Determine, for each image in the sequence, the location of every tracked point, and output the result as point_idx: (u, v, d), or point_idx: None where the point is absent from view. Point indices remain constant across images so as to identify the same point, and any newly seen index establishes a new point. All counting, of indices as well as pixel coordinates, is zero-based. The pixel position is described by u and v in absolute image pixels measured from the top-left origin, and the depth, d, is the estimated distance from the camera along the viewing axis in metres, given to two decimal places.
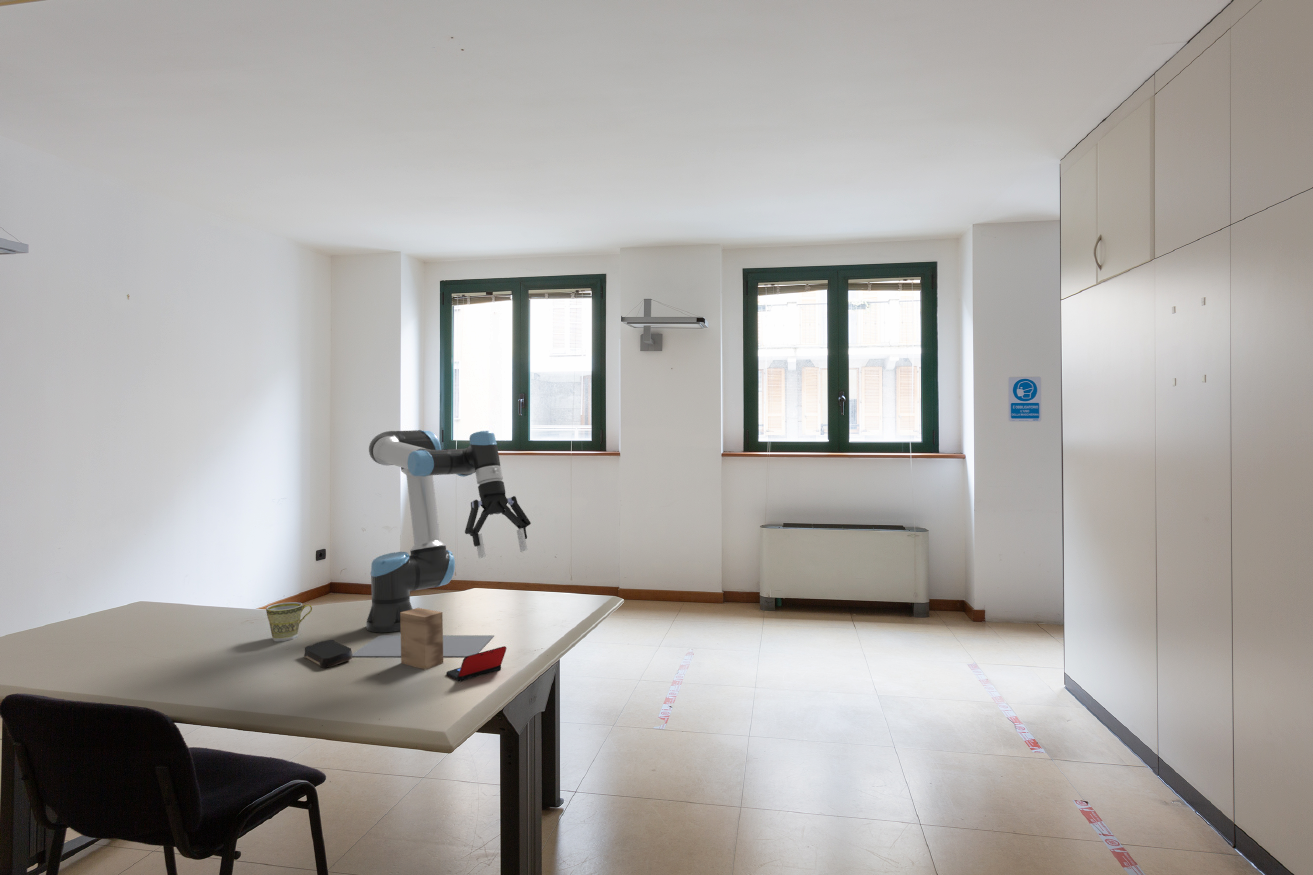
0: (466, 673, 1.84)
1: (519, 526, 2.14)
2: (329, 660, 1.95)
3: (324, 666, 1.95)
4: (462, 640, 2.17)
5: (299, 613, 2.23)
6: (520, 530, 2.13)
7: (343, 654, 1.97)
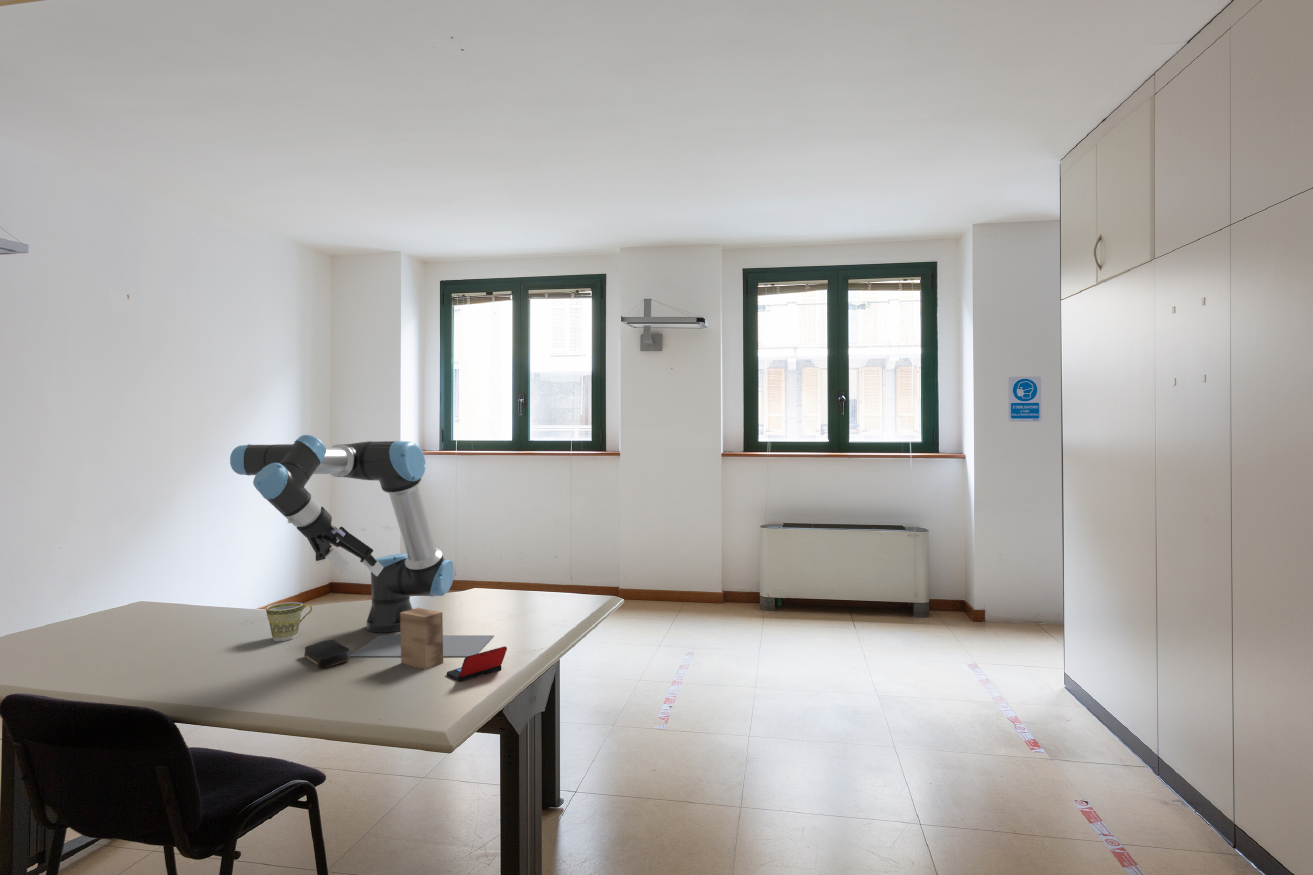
0: (467, 673, 1.84)
1: None
2: (327, 660, 1.94)
3: (321, 666, 1.94)
4: (462, 640, 2.17)
5: (299, 613, 2.23)
6: None
7: (340, 655, 1.97)
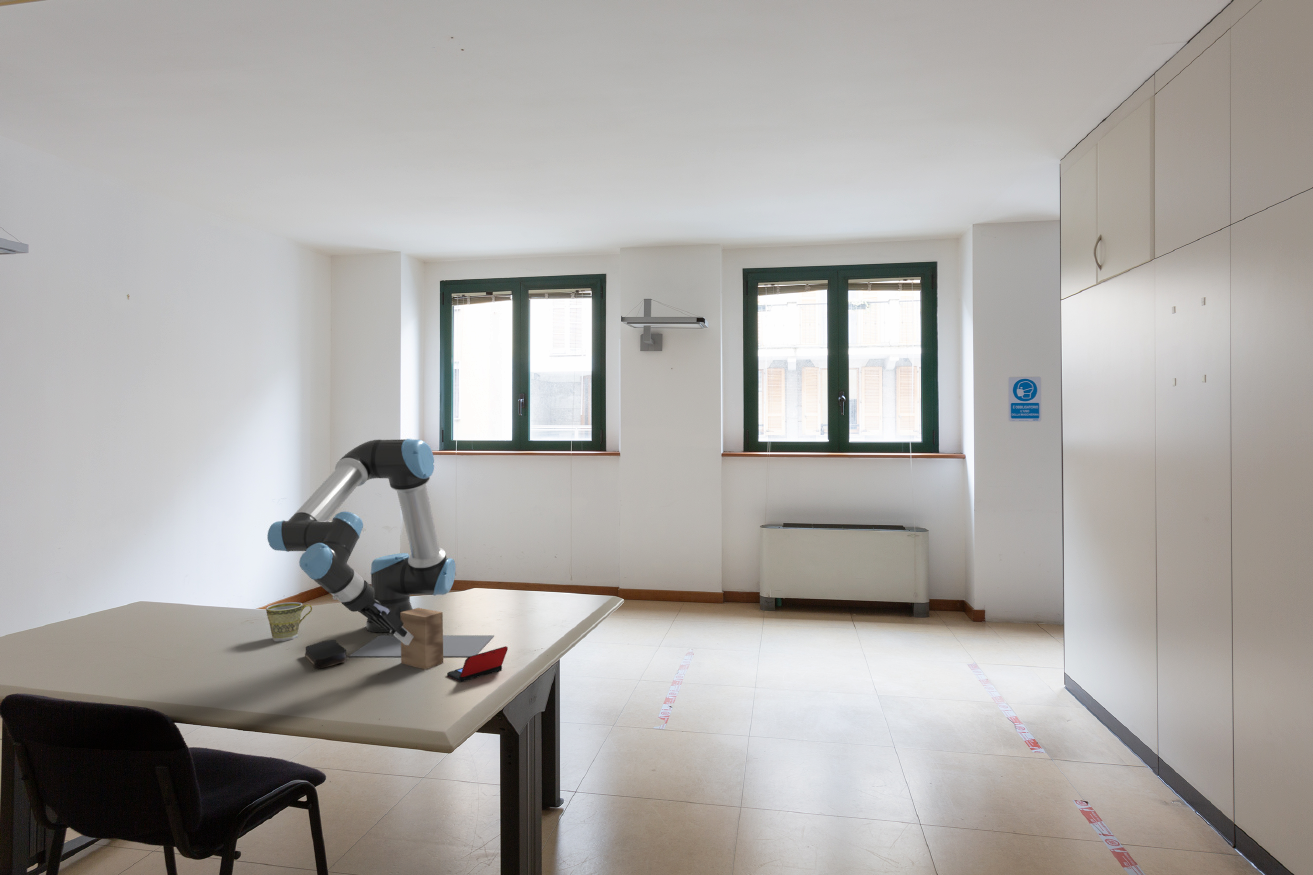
0: (468, 674, 1.83)
1: None
2: (322, 661, 1.94)
3: (317, 667, 1.94)
4: (462, 640, 2.17)
5: (299, 613, 2.23)
6: None
7: (336, 656, 1.96)
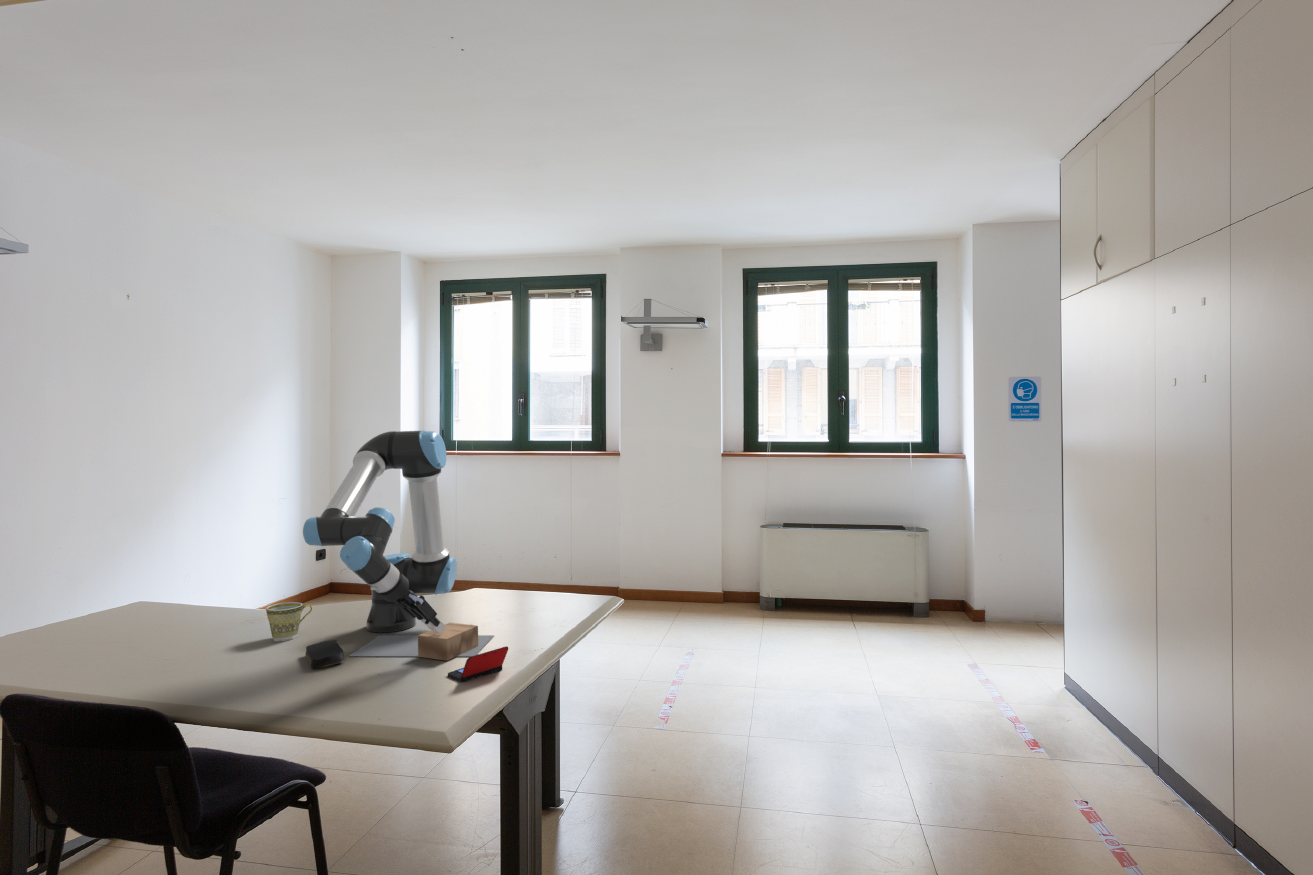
0: (469, 674, 1.83)
1: None
2: (318, 661, 1.93)
3: (313, 667, 1.94)
4: None
5: (299, 613, 2.23)
6: None
7: (332, 656, 1.95)
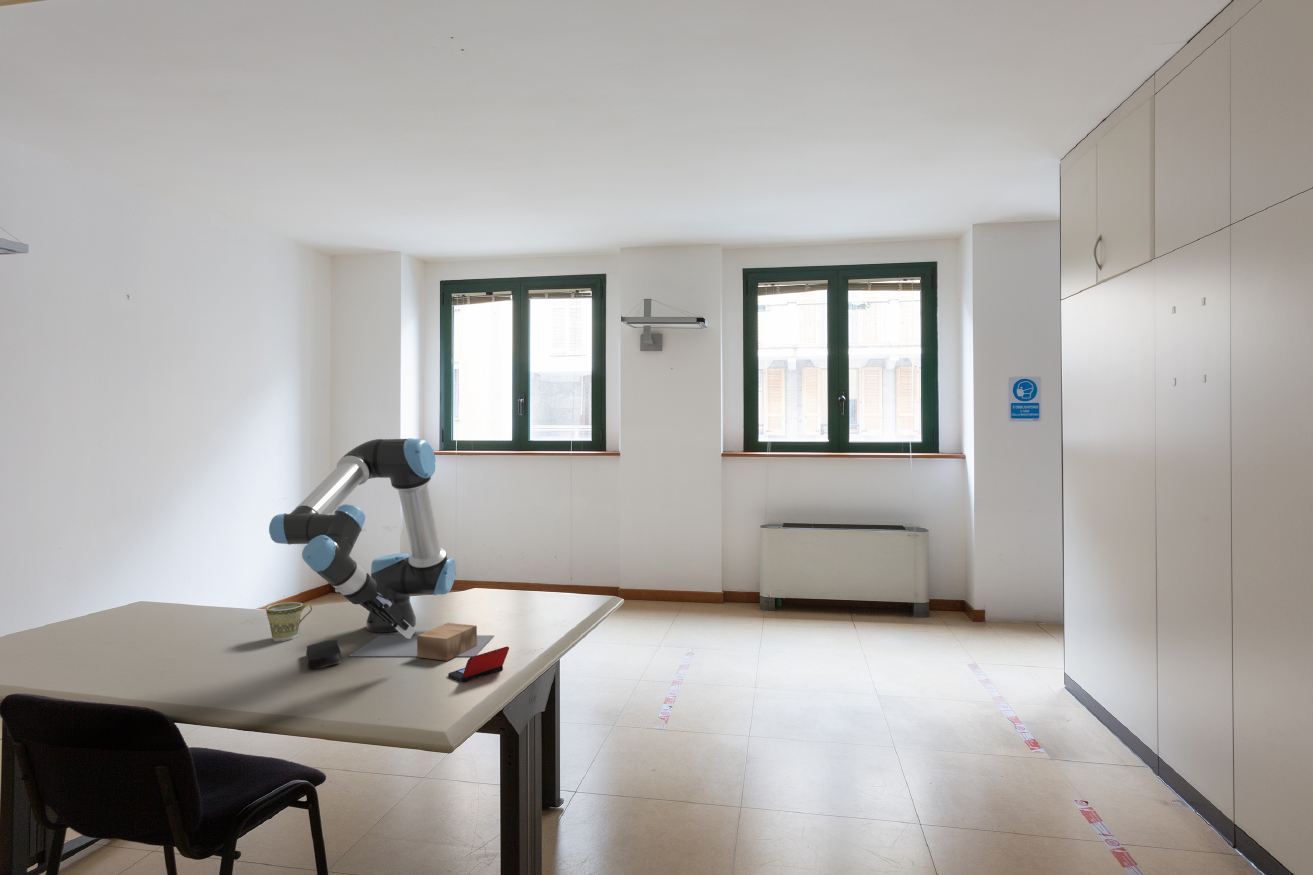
0: (470, 674, 1.83)
1: None
2: (314, 662, 1.93)
3: (310, 667, 1.94)
4: None
5: (299, 613, 2.23)
6: None
7: (329, 657, 1.95)
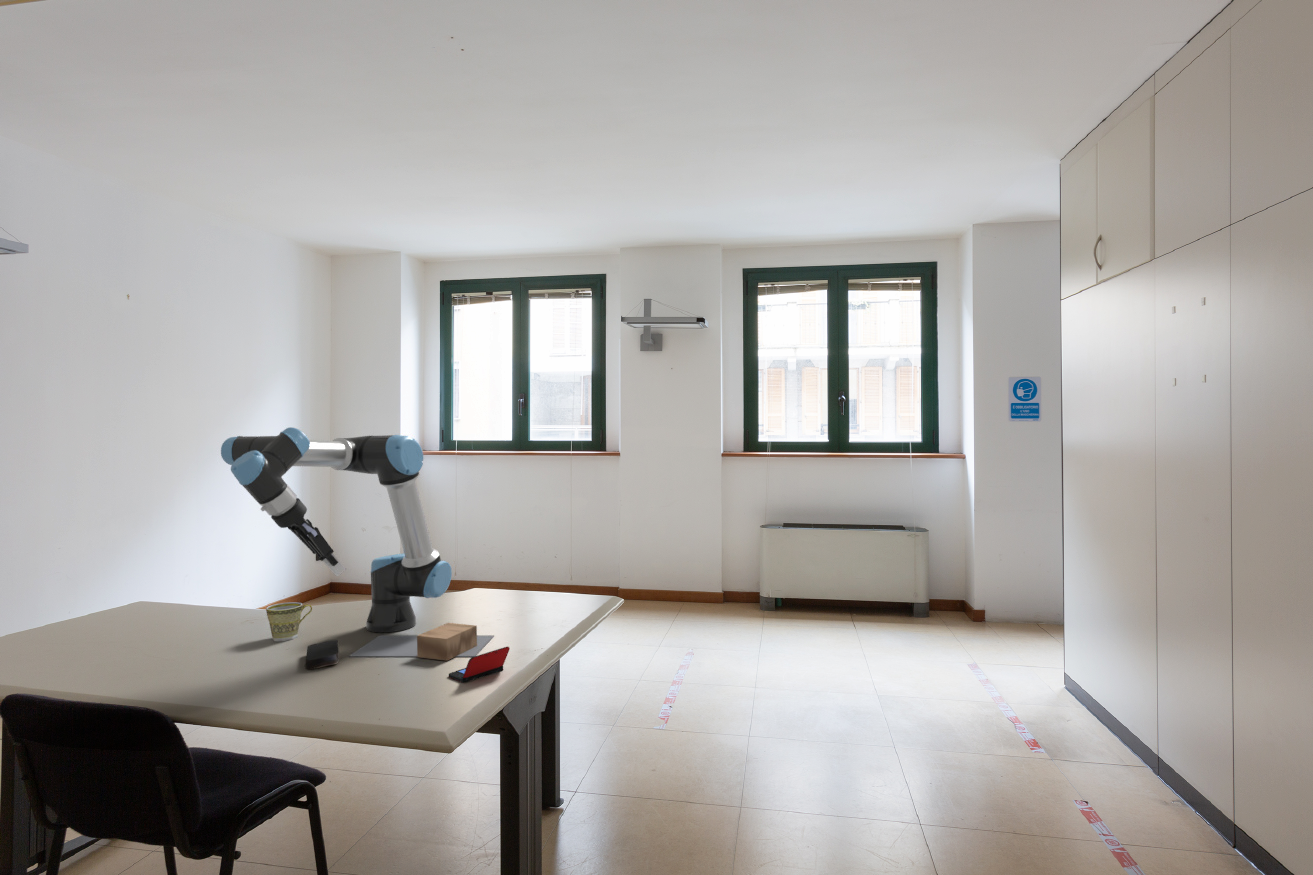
0: (470, 674, 1.83)
1: None
2: (311, 662, 1.93)
3: (307, 668, 1.93)
4: None
5: (299, 613, 2.23)
6: None
7: (326, 657, 1.95)
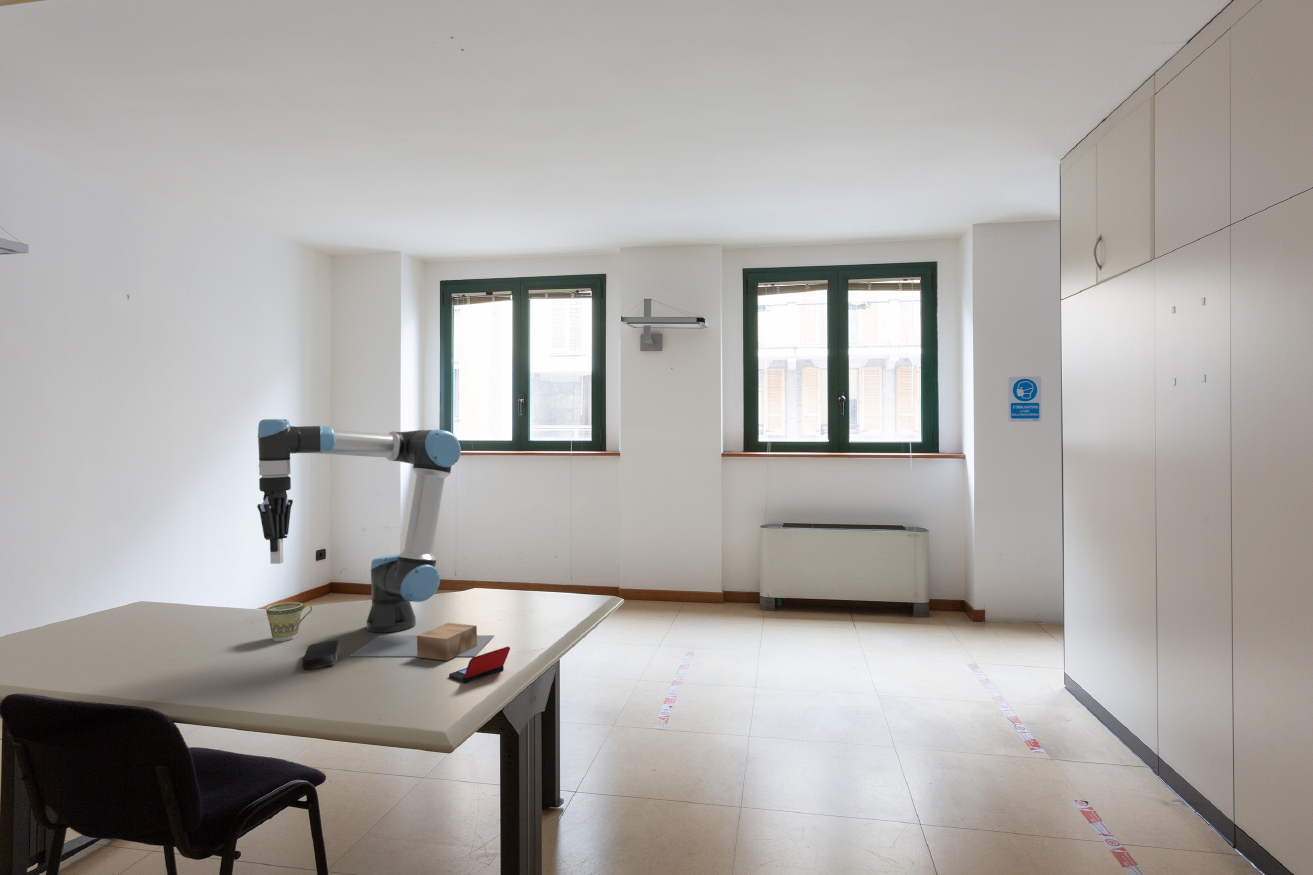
0: (471, 674, 1.82)
1: None
2: (308, 662, 1.93)
3: (304, 668, 1.93)
4: None
5: (299, 613, 2.23)
6: None
7: (322, 658, 1.94)
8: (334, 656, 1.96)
